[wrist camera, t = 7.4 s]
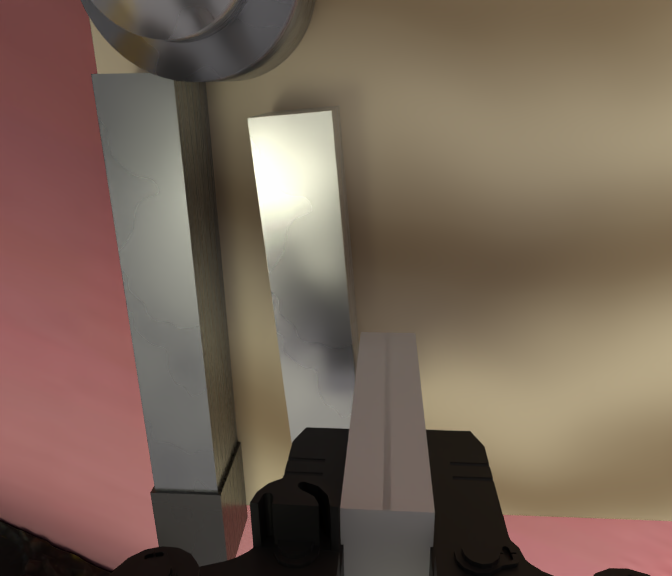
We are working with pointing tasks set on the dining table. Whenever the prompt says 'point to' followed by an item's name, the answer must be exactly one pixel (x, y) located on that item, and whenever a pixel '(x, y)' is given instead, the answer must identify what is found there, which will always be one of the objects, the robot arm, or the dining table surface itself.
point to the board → (483, 232)
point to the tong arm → (287, 223)
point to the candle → (38, 557)
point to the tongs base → (183, 259)
